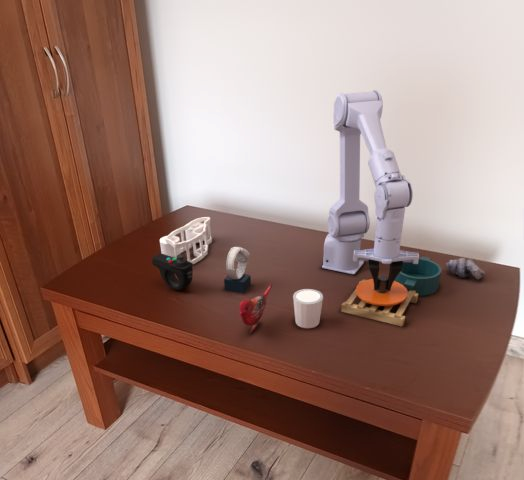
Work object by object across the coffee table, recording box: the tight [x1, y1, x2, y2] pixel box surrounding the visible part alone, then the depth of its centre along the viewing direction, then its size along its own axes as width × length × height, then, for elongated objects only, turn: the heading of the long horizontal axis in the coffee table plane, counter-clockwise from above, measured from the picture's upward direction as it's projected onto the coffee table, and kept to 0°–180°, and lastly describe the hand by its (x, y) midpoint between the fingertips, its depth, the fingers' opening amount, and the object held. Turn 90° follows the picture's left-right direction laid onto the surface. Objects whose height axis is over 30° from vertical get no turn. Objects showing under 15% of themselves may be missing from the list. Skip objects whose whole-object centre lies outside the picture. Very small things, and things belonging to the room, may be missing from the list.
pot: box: [394, 256, 443, 297], centre depth 135 cm, size 11×17×5 cm
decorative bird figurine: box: [238, 283, 273, 334], centre depth 121 cm, size 3×18×10 cm, turn 156°
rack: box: [340, 279, 419, 327], centre depth 128 cm, size 15×13×3 cm
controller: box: [151, 253, 194, 291], centre depth 136 cm, size 4×12×10 cm, turn 54°
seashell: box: [445, 257, 485, 280], centre depth 138 cm, size 5×5×10 cm
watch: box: [223, 246, 252, 294], centre depth 135 cm, size 6×8×11 cm
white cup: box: [292, 288, 324, 329], centre depth 122 cm, size 7×7×7 cm
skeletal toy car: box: [159, 216, 213, 265], centre depth 153 cm, size 20×11×7 cm, turn 147°
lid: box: [355, 275, 408, 307], centre depth 125 cm, size 12×12×4 cm
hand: (381, 288), depth 126 cm, fingers closed on lid, 2 cm apart
